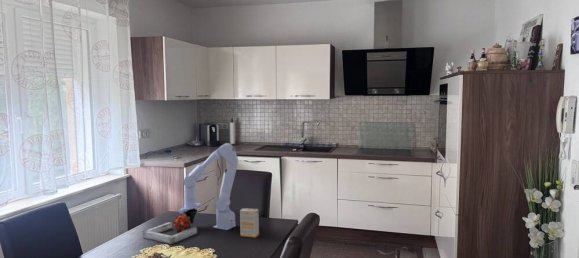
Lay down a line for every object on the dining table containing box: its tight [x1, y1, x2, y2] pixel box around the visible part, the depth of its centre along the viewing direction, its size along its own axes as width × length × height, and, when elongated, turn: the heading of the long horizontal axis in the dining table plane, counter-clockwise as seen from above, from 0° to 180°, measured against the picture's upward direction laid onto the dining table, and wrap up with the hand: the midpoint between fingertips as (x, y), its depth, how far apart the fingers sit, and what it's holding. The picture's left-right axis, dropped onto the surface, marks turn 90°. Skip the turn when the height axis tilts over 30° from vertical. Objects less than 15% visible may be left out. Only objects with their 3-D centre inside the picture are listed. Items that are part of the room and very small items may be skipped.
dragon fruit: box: [172, 214, 192, 233], centre depth 197 cm, size 8×8×12 cm
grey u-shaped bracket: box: [142, 221, 198, 245], centre depth 190 cm, size 19×17×3 cm
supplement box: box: [239, 207, 260, 239], centre depth 189 cm, size 8×5×13 cm, turn 71°
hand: (190, 223), depth 203 cm, fingers closed
